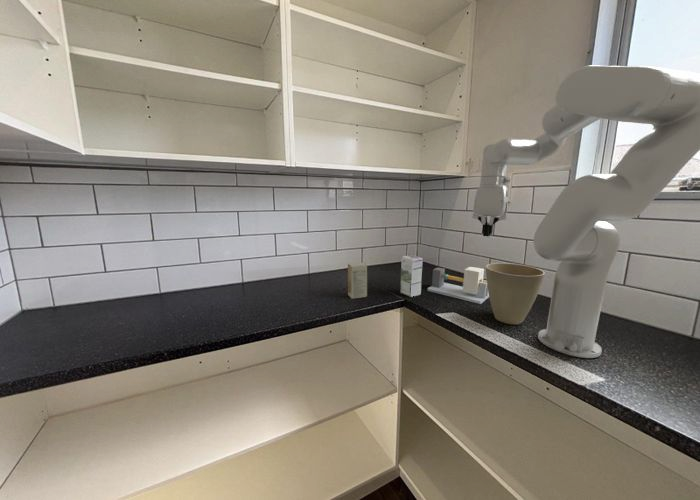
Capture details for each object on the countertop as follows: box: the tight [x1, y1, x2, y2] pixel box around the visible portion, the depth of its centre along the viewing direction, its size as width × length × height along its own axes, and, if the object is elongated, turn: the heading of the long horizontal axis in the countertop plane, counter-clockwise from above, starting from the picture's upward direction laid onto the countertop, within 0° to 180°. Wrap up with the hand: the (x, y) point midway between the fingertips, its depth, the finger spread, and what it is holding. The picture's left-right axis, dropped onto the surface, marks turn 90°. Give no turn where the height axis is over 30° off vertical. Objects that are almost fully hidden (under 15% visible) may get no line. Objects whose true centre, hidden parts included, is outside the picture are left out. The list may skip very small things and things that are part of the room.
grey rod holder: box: [426, 267, 489, 305], centre depth 105 cm, size 12×22×8 cm, turn 48°
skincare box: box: [347, 262, 368, 300], centre depth 101 cm, size 6×4×12 cm
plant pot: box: [485, 262, 546, 325], centre depth 82 cm, size 15×15×16 cm
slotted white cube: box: [462, 266, 485, 295], centre depth 102 cm, size 6×5×8 cm
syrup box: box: [399, 254, 424, 298], centre depth 103 cm, size 6×6×14 cm
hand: (486, 235), depth 97 cm, fingers closed
